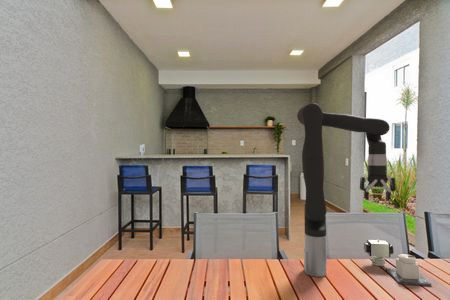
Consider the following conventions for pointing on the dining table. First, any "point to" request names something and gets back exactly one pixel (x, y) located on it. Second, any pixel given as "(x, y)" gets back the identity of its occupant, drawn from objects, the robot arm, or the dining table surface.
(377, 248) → the pneumatic valve
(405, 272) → the knob
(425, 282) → the shaft mount
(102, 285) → the dining table surface
